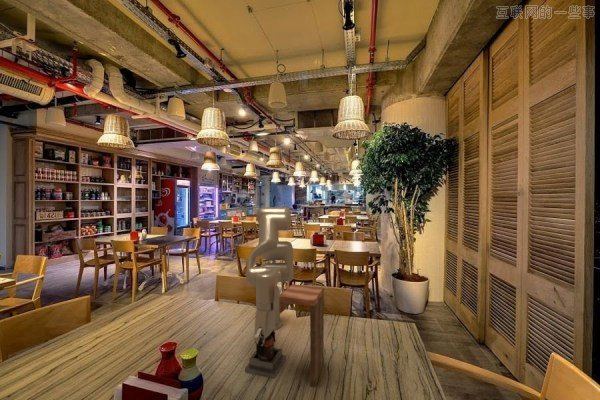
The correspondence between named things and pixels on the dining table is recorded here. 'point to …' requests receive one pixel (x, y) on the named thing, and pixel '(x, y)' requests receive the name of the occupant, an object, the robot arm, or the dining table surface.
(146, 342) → the dining table surface
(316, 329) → the wooden inverted l post
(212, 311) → the dining table surface
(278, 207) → the robot arm
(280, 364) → the socket
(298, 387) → the dining table surface
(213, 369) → the dining table surface
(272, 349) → the supplement bottle
